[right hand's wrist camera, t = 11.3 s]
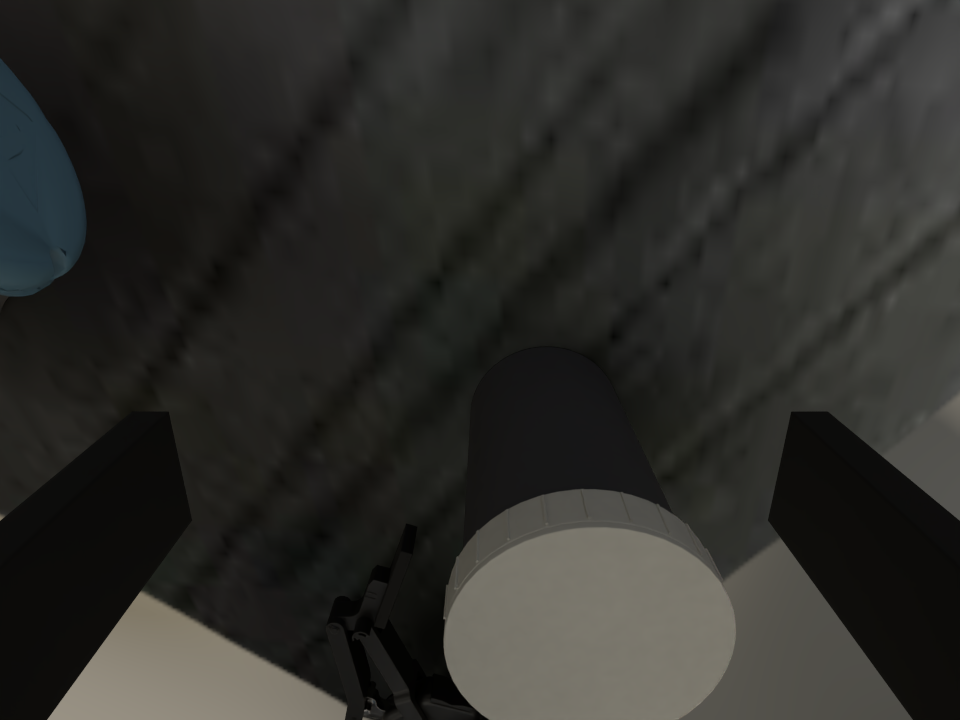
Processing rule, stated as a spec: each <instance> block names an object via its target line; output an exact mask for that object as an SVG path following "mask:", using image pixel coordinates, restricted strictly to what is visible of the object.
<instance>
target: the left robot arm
mask: <svg viewBox="0 0 960 720" xmlns="http://www.w3.org/2000/svg"><path fill="white" fill-rule="evenodd" d="M86 225H87V220H86V210H85V204H84V199H83V194H82V190H81V187H80V183H79V181H78V178H77V175H76V173H75V170H74V167H73V165H72V163H71V161H70V158H69V156H68V154H67V152H66V150H65V148H64V146H63V144H62V142H61V140H60V138H59V137H58V135H57V133H56V131H55V130H54V129H53V127H52V126H51V125H50V123H49V122H48V120H47V119H46V118H45V116H44V114H43V113H42V111H41V109H40V107H39V106H38V104H37V103H36V101H35V100H34V99H33V97H32V96H31V94H30V93H29V92H28V91H27V89H26V88H25V87H24V86H23V84H22V83H21V82H20V81H19V79H18V78H17V77H16V76H15V75H14V73H13V72H12V71H11V70H10V69H9V67H8V66H7V65H6V64H5V63H4V62H3V61H2V60H1V59H0V314H1V309H2V306H3V304H4V303H5V301H6V300H7V299H8V297H9V296H28V295H33V294H35V293H36V292H38V291H40V290H42V289H43V288H45V287H47V286H49V285H50V284H51V283H52V282H53V280H54V279H55V278H58V277H60V276H62V275H64V274H65V273H67V272H68V271H69V270H70V269H71V268H72V267H73V266H74V264H75V263H76V262H77V260H78V259H79V257H80V255H81V252H82V249H83V246H84V243H85V238H86ZM416 531H417V527H416V526H413V525H409V524H406V526H405V529H404V532H403V534H402V537H401V540H400V543H399V546H398V548H397V551H396V554H395V557H394V559H393V562H392V565H391V568H387V567H383V566H380V565H377V566H376V567H375V568H374V569H373V570H372V573H371V576H370V579H369V581H368V584H367V587H366V590H365V593H364V596H363V597H362V598H361V599H360V600H358V601H351V600H350V599H349V598H348V597H345V596H339V597H337V598H336V599H335V601H334V604H333V607H332V610H331V613H330V616H329V619H328V622H327V626H326V633H327V636H328V639H329V642H330V646H331V649H332V652H333V656H334V659H335V662H336V665H337V669H338V672H339V675H340V679H341V682H342V685H343V688H344V692H345V695H346V698H347V702H348V707H347V712H346V717H345V720H362V718H363V717H367V718H373V719H379V720H489V719H487V718H486V717H485V716H483V715H482V714H481V713H479V712H478V711H477V710H476V709H475V708H474V707H473V706H471V705H470V703H469V702H468V701H467V700H466V699H465V698H464V696H463V695H462V694H461V693H460V691H459V690H458V688H457V686H456V685H455V683H454V682H453V680H451V679H449V678H447V677H445V676H441V675H438V674H433V677H426V675H425V673H424V672H423V670H422V668H421V667H420V665H419V663H418V661H417V660H416V659H413V660H412V658H411V656H410V655H409V653H408V651H407V650H406V648H405V646H404V644H403V643H402V641H401V639H400V638H399V636H398V634H397V632H396V631H395V629H394V627H393V626H392V624H391V622H390V620H389V616H390V613H391V611H392V608H393V605H394V603H395V600H396V597H397V595H398V592H399V589H400V587H401V584H402V581H403V579H404V576H405V573H406V570H407V568H408V565H409V562H410V560H411V557H412V554H413V548H414V543H415V537H416ZM364 647H365V649H366V651H367V652H368V654H369V655H370V657H371V659H372V660H373V662H374V663H375V665H376V667H377V668H378V670H379V672H380V673H381V675H382V676H383V678H384V680H385V681H386V683H387V685H388V686H389V688H390V689H391V691H392V693H393V694H391V695H390V696H389V697H388V698H387V699H386V700H385V699H383V698H381V697H380V696H379V692H378V690H377V689H376V683H375V682H374V681H370V678H371V674H370V668H369V664H368V661H367V657H366V653H365V650H364Z"/></svg>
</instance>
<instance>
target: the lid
mask: <svg viewBox="0 0 960 720" xmlns="http://www.w3.org/2000/svg"><path fill="white" fill-rule="evenodd" d="M722 581H723V579H722V577H721V575H720V573H719V571H718V569H717V567H716V565H715V563H714V561H713V559H712V557H711V555H710V553H709V552H708V550H707V548H706V549H704V547H703V545H702V544H701V542H700V540H699V539H698V538H697V536H696V535H695V534H694V533H693V532H692V530H691V529H690V527H689V525H688V524H687V523H686V524H684V523H683V522H682V521H681V520H680V519H679V518H678V517H676V516H675V515H673V514H672V513H670V512H669V511H667V510H666V509H664V508H662V507H660V505H659V504H654V503H652V502H650V501H648V500H645V499H642V498H639V497H636V496H633V495H630V494H625V493H623V492H616V491H609V490H599V489H575V490H567V491H559V492H554V493H550V494H546V495H541V496H538V497H535V498H532V499H529V500H527V501H524V502H521V503H519V504H517V505H515V506H513V507H511V508H509V509H506V510H505V511H504V512H502V513H501V514H499V515H497V516H496V517H495V518H493V519H491V520H490V521H489V522H488V523H487V524H486V525H484V526H483V527H482V528H481V529H480V530H479V531H478V530H477V531H476V534H475V535H474V536H473V537H472V538H471V539H470V541H469V542H468V543H467V544H466V546H465V547H464V549H463V550H462V552H461V553H460V555H459V556H457V557H456V563H455V565H454V567H453V569H452V573H451V576H450V580H449V584H448V585H446V595H445V606H444V618H443V619H445V628H444V655H445V659H446V663H447V667H448V670H449V672H450V675H451V677H452V679H453V682H454V683H455V685H456V686H457V688H458V690H459V691H460V693H461V694H462V695H463V696H464V698H465V699H466V700H467V701H468V702H469V703H470V705H471V706H473V707H474V708H475V709H476V710H477V711H478V712H479V713H481V714H482V715H483V716H485V717H486V718H487V719H489V720H678V719H680V718H681V717H683V716H684V715H686V714H688V713H689V712H690V711H691V710H693V709H694V708H695V707H696V706H698V705H699V704H700V703H701V702H702V701H703V700H704V699H705V698H706V697H707V696H708V695H709V694H710V693H711V692H712V691H713V689H714V688H715V687H716V685H717V684H718V683H719V681H720V680H721V678H722V676H723V675H724V673H725V671H726V669H727V667H728V665H729V662H730V659H731V657H732V654H733V650H734V644H735V639H736V621H735V616H734V610H733V607H732V604H731V601H730V598H729V596H728V593H727V591H726V589H725V588H724V585H723V583H722Z"/></svg>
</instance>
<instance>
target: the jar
mask: <svg viewBox="0 0 960 720" xmlns="http://www.w3.org/2000/svg"><path fill="white" fill-rule="evenodd" d="M575 489H599V490H609V491H616V492H623V493H625V494H630V495H633V496H636V497H639V498H642V499H645V500H648V501H650V502H652V503H654V504H659V505H660V507H662V508H664V509H666V510H667V511H669V512H670V513H672V511H671V509H670V507H669V505H668V502H667V500H666V498H665V496H664V494H663V492H662V490H661V488H660V486H659V483H658V481H657V479H656V477H655V475H654V473H653V471H652V469H651V466H650V464H649V462H648V460H647V458H646V456H645V454H644V452H643V450H642V447H641V445H640V443H639V441H638V439H637V437H636V435H635V433H634V431H633V428H632V426H631V424H630V422H629V420H628V418H627V416H626V414H625V412H624V409H623V407H622V405H621V403H620V401H619V399H618V397H617V395H616V393H615V390H614V388H613V386H612V384H611V382H610V381H609V379H608V377H607V376H606V375H605V373H604V372H603V371H602V370H601V369H600V368H599V367H598V366H597V365H596V364H595V363H594V362H592V361H591V360H589V359H588V358H586V357H584V356H583V355H581V354H579V353H576V352H573V351H571V350H567V349H563V348H556V347H537V348H530V349H526V350H523V351H519V352H517V353H514V354H512V355H510V356H508V357H506V358H505V359H503V360H501V361H500V362H499V363H497V364H496V365H495V366H493V367H492V368H491V369H490V370H489V371H488V372H487V374H486V375H485V376H484V377H483V379H482V380H481V382H480V383H479V385H478V387H477V389H476V391H475V394H474V396H473V400H472V404H471V414H470V432H469V450H468V468H467V486H466V504H465V522H464V540H463V549H464V547H465V546H466V544H467V543H468V542H469V541H470V539H471V538H472V537H473V536H474V535H475V534H476V531H477V530H478V531H479V530H480V529H481V528H482V527H483V526H484V525H486V524H487V523H488V522H489V521H490V520H491V519H493V518H495V517H496V516H497V515H499V514H501V513H502V512H504V511H505V510H506V509H509V508H511V507H513V506H515V505H517V504H519V503H521V502H524V501H527V500H529V499H532V498H535V497H538V496H541V495H546V494H550V493H554V492H559V491H567V490H575ZM672 514H673V513H672Z"/></svg>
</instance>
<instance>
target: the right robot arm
mask: <svg viewBox="0 0 960 720" xmlns="http://www.w3.org/2000/svg"><path fill="white" fill-rule="evenodd" d="M191 521H192V518H191V514H190V509H189V504H188V500H187V495H186V490H185V486H184V481H183V476H182V472H181V467H180V463H179V458H178V453H177V449H176V444H175V439H174V435H173V430H172V425H171V421H170V416H169V412H131V413H130V414H129V415H128V416H126V417H125V418H124V419H123V420H122V421H120V422H119V423H118V424H117V425H116V426H114V427H113V428H112V429H111V430H109V431H108V432H107V433H106V434H105V435H103V436H102V437H101V438H100V439H99V440H97V441H96V442H95V443H94V444H93V445H91V446H90V447H89V448H88V449H87V450H85V451H84V452H83V453H82V454H80V455H79V456H78V457H77V458H76V459H74V460H73V461H72V462H71V463H70V464H68V465H67V466H66V467H65V468H64V469H62V470H61V471H60V472H59V473H58V474H56V475H55V476H54V477H53V478H51V479H50V480H49V481H48V482H47V483H45V484H44V485H43V486H42V487H41V488H39V489H38V490H37V491H36V492H35V493H33V494H32V495H31V496H30V497H29V498H27V499H26V500H25V501H24V502H22V503H21V504H20V505H19V506H18V507H16V508H15V509H14V510H13V511H12V512H10V513H9V514H8V515H7V516H6V517H4V518H3V519H2V520H1V521H0V720H47V719H48V718H49V716H50V715H51V714H52V712H53V711H54V709H55V708H56V707H57V705H58V704H59V702H60V701H61V700H62V698H63V697H64V696H65V694H66V693H67V691H68V690H69V689H70V687H71V686H72V685H73V683H74V682H75V681H76V679H77V678H78V676H79V675H80V674H81V672H82V671H83V670H84V668H85V667H86V665H87V664H88V663H89V661H90V660H91V659H92V657H93V656H94V654H95V653H96V652H97V650H98V649H99V647H100V646H101V645H102V643H103V642H104V641H105V639H106V638H107V636H108V635H109V634H110V632H111V631H112V630H113V628H114V627H115V625H116V624H117V623H118V621H119V620H120V619H121V617H122V616H123V614H124V613H125V612H126V610H127V609H128V608H129V606H130V605H131V603H132V602H133V601H134V599H135V598H136V597H137V595H138V594H139V592H140V591H141V590H142V588H143V587H144V586H145V584H146V583H147V581H148V580H149V579H150V577H151V576H152V575H153V573H154V572H155V570H156V569H157V568H158V566H159V565H160V564H161V562H162V561H163V559H164V558H165V557H166V555H167V554H168V553H169V551H170V550H171V548H172V547H173V546H174V544H175V543H176V542H177V540H178V539H179V537H180V536H181V535H182V533H183V532H184V531H185V529H186V528H187V526H188V525H189V524H190V522H191ZM768 521H769V522H770V524H771V525H772V526H773V528H774V529H775V531H776V532H777V533H778V535H779V536H780V537H781V539H782V540H783V542H784V543H785V544H786V546H787V547H788V548H789V550H790V551H791V553H792V554H793V555H794V557H795V558H796V559H797V561H798V562H799V564H800V565H801V566H802V568H803V569H804V570H805V572H806V573H807V574H808V576H809V577H810V579H811V580H812V581H813V583H814V584H815V586H816V587H817V588H818V590H819V591H820V592H821V594H822V595H823V597H824V598H825V599H826V601H827V602H828V603H829V605H830V606H831V608H832V609H833V610H834V612H835V613H836V614H837V616H838V617H839V619H840V620H841V621H842V623H843V624H844V625H845V627H846V628H847V630H848V631H849V632H850V634H851V635H852V636H853V638H854V639H855V641H856V642H857V643H858V645H859V646H860V648H861V649H862V650H863V652H864V653H865V654H866V656H867V657H868V659H869V660H870V661H871V663H872V664H873V665H874V667H875V668H876V670H877V671H878V672H879V674H880V675H881V676H882V678H883V679H884V681H885V682H886V683H887V685H888V686H889V687H890V689H891V690H892V691H893V693H894V694H895V696H896V697H897V698H898V700H899V701H900V702H901V704H902V705H903V707H904V708H905V709H906V711H907V712H908V714H909V715H910V716H911V718H912V719H913V720H960V521H959V520H958V519H957V518H956V517H954V516H953V515H952V514H951V513H950V512H948V511H947V510H946V509H945V508H944V507H942V506H941V505H940V504H939V503H937V502H936V501H935V500H934V499H933V498H931V497H930V496H929V495H928V494H927V493H925V492H924V491H923V490H922V489H921V488H919V487H918V486H917V485H916V484H914V483H913V482H912V481H911V480H910V479H909V478H907V477H906V476H905V475H904V474H902V473H901V472H900V471H899V470H898V469H896V468H895V467H894V466H893V465H892V464H890V463H889V462H888V461H887V460H886V459H884V458H883V457H882V456H881V455H880V454H878V453H877V452H876V451H875V450H873V449H872V448H871V447H870V446H869V445H867V444H866V443H865V442H864V441H863V440H861V439H860V438H859V437H858V436H857V435H855V434H854V433H853V432H852V431H850V430H849V429H848V428H847V427H846V426H844V425H843V424H842V423H841V422H840V421H838V420H837V419H836V418H835V417H834V416H832V415H831V414H830V413H829V412H791V416H790V421H789V425H788V430H787V435H786V439H785V444H784V449H783V453H782V458H781V463H780V467H779V472H778V476H777V481H776V486H775V490H774V495H773V500H772V504H771V509H770V514H769V518H768Z"/></svg>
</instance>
